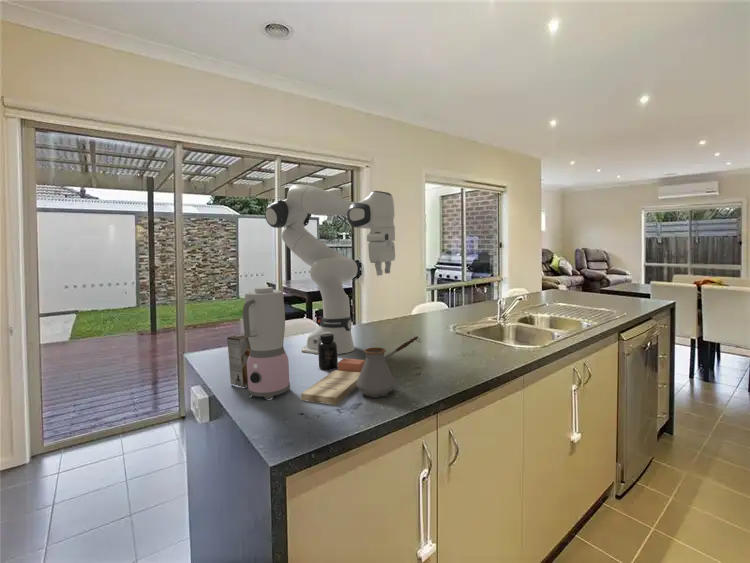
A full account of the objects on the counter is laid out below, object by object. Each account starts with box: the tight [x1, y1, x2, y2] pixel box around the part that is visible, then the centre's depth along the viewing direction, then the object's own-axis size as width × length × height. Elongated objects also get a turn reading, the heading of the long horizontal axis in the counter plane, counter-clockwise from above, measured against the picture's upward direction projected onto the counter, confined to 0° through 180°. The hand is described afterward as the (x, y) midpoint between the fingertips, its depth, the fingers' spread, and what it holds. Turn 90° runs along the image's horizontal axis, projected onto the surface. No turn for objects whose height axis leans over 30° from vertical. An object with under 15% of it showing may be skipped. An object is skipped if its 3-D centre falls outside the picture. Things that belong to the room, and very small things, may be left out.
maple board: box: [300, 369, 361, 405], centre depth 122 cm, size 11×22×2 cm, turn 160°
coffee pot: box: [356, 336, 422, 398], centre depth 119 cm, size 21×12×15 cm, turn 117°
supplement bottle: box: [317, 334, 339, 371], centre depth 143 cm, size 7×7×12 cm
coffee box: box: [227, 332, 251, 387], centre depth 128 cm, size 9×6×16 cm
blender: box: [242, 286, 291, 400], centre depth 117 cm, size 16×12×32 cm
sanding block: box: [337, 358, 366, 372], centre depth 136 cm, size 8×5×4 cm, turn 72°
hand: (383, 274), depth 145 cm, fingers open, 8 cm apart
